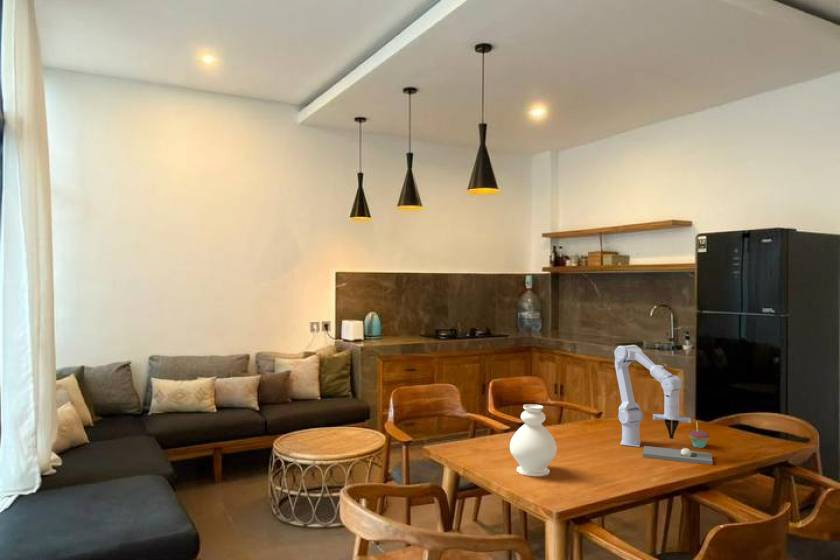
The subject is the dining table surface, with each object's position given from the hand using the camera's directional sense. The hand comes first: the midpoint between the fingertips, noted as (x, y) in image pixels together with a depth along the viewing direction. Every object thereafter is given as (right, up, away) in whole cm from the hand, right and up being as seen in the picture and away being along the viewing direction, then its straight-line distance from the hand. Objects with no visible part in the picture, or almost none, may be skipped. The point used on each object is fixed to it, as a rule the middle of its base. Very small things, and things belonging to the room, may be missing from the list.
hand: (671, 438), depth 245 cm
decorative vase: (-61, -8, -19) cm, 65 cm away
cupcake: (+18, -8, +14) cm, 24 cm away
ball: (+5, -6, -2) cm, 8 cm away
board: (+2, -8, -1) cm, 8 cm away
